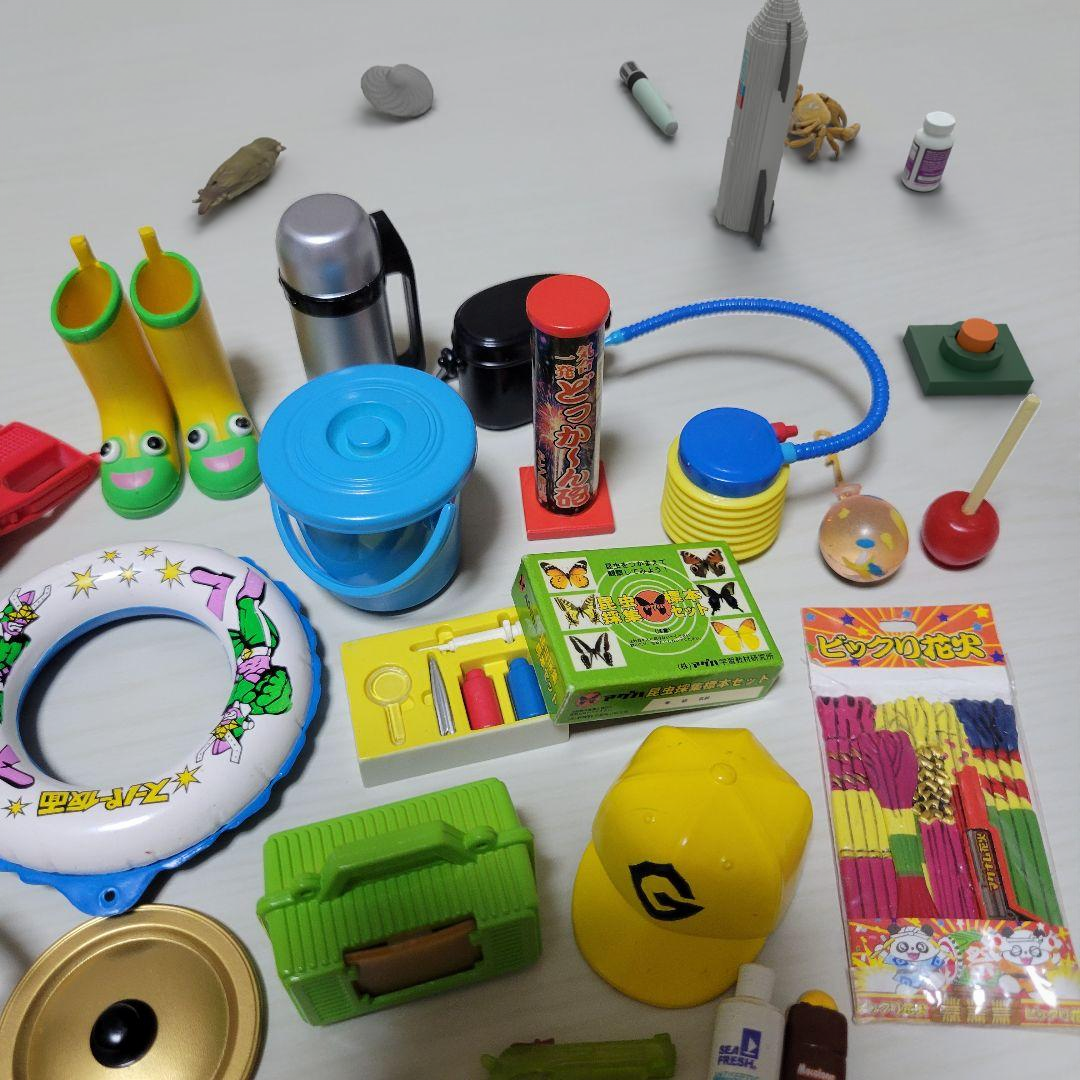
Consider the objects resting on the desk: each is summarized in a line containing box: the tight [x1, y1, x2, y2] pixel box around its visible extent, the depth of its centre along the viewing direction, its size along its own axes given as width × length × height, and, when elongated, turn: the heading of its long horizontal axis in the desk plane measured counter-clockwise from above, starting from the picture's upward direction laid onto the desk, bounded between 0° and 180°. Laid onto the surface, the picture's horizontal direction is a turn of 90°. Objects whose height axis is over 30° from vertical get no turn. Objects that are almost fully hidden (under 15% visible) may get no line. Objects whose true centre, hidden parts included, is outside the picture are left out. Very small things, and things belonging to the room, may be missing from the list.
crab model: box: [784, 82, 861, 161], centre depth 143 cm, size 16×13×6 cm
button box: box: [903, 320, 1035, 397], centre depth 112 cm, size 12×10×4 cm
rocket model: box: [714, 0, 809, 248], centre depth 120 cm, size 14×7×30 cm, turn 11°
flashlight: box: [618, 60, 679, 137], centre depth 149 cm, size 3×4×20 cm
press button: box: [956, 317, 998, 353], centre depth 110 cm, size 4×4×2 cm
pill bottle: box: [901, 111, 956, 192], centre depth 133 cm, size 5×5×10 cm
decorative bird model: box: [191, 136, 287, 216], centre depth 135 cm, size 5×20×5 cm, turn 151°
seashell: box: [360, 63, 434, 119], centre depth 149 cm, size 12×6×10 cm
